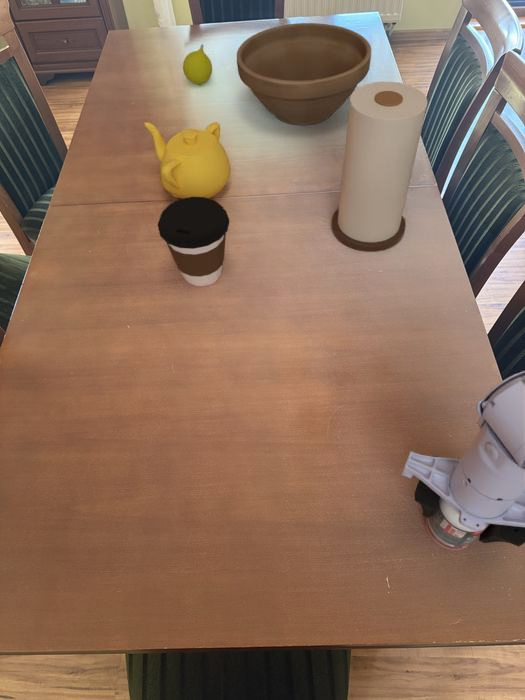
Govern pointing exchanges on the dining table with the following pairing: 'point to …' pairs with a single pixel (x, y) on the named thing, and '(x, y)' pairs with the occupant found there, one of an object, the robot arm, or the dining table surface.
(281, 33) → the flower pot
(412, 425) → the dining table surface
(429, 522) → the pill bottle
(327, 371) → the dining table surface
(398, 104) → the paper towel roll
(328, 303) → the dining table surface
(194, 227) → the coffee cup
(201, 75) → the yellow-green pear
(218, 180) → the teapot
